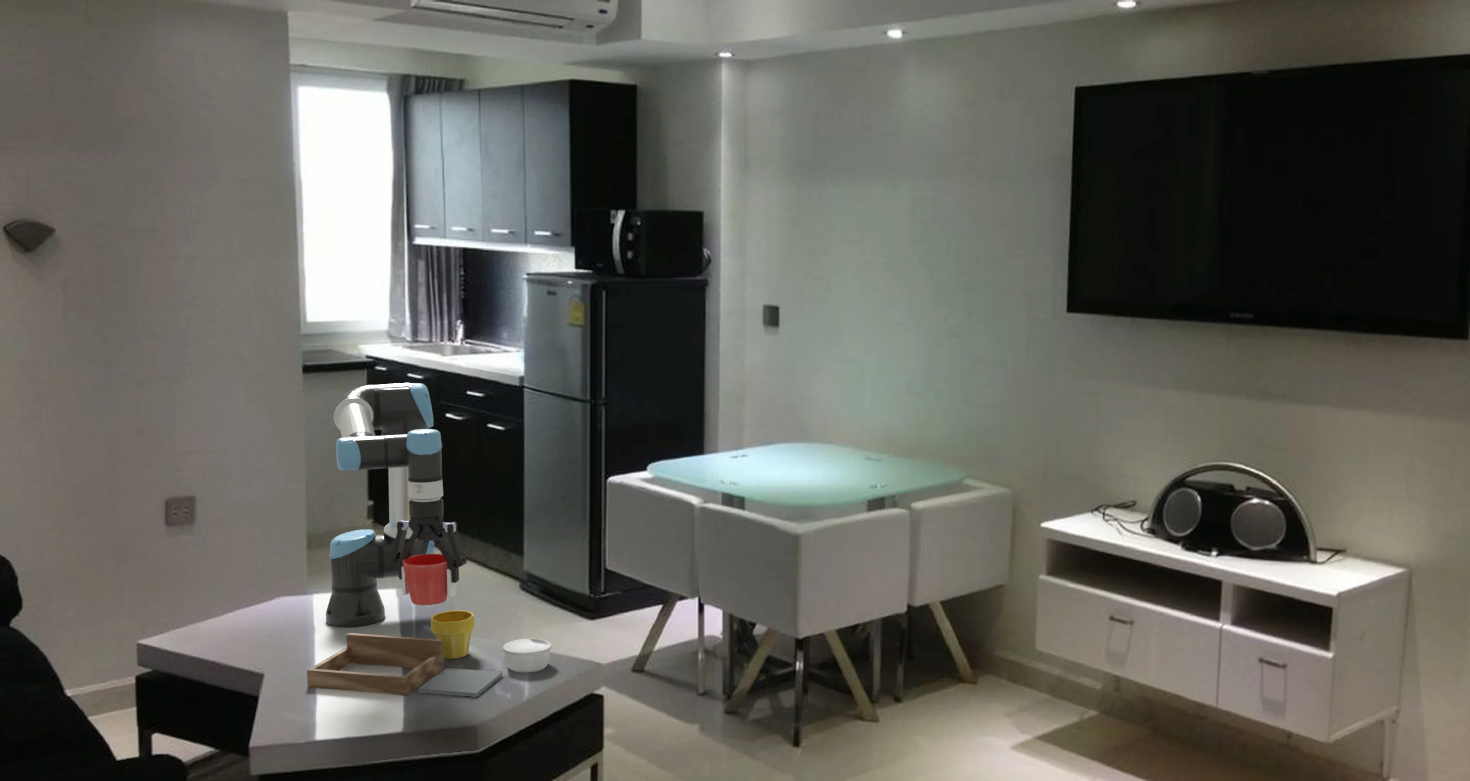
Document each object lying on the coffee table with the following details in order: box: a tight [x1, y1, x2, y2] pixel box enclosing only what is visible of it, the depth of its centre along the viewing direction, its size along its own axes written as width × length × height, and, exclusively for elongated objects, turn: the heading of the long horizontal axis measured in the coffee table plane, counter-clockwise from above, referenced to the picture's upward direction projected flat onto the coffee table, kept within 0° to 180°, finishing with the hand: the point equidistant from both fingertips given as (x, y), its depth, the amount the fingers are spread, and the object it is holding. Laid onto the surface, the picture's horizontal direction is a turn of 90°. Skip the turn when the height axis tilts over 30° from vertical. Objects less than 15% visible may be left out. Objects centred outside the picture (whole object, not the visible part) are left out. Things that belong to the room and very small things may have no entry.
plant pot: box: [430, 609, 475, 660], centre depth 307 cm, size 10×10×10 cm
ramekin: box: [502, 637, 552, 673], centre depth 299 cm, size 11×11×5 cm
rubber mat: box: [417, 667, 503, 698], centre depth 287 cm, size 14×14×1 cm
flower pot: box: [403, 553, 450, 606], centre depth 285 cm, size 11×11×10 cm
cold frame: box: [306, 632, 445, 696], centre depth 291 cm, size 18×24×7 cm
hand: (429, 594), depth 286 cm, fingers closed on flower pot, 10 cm apart
